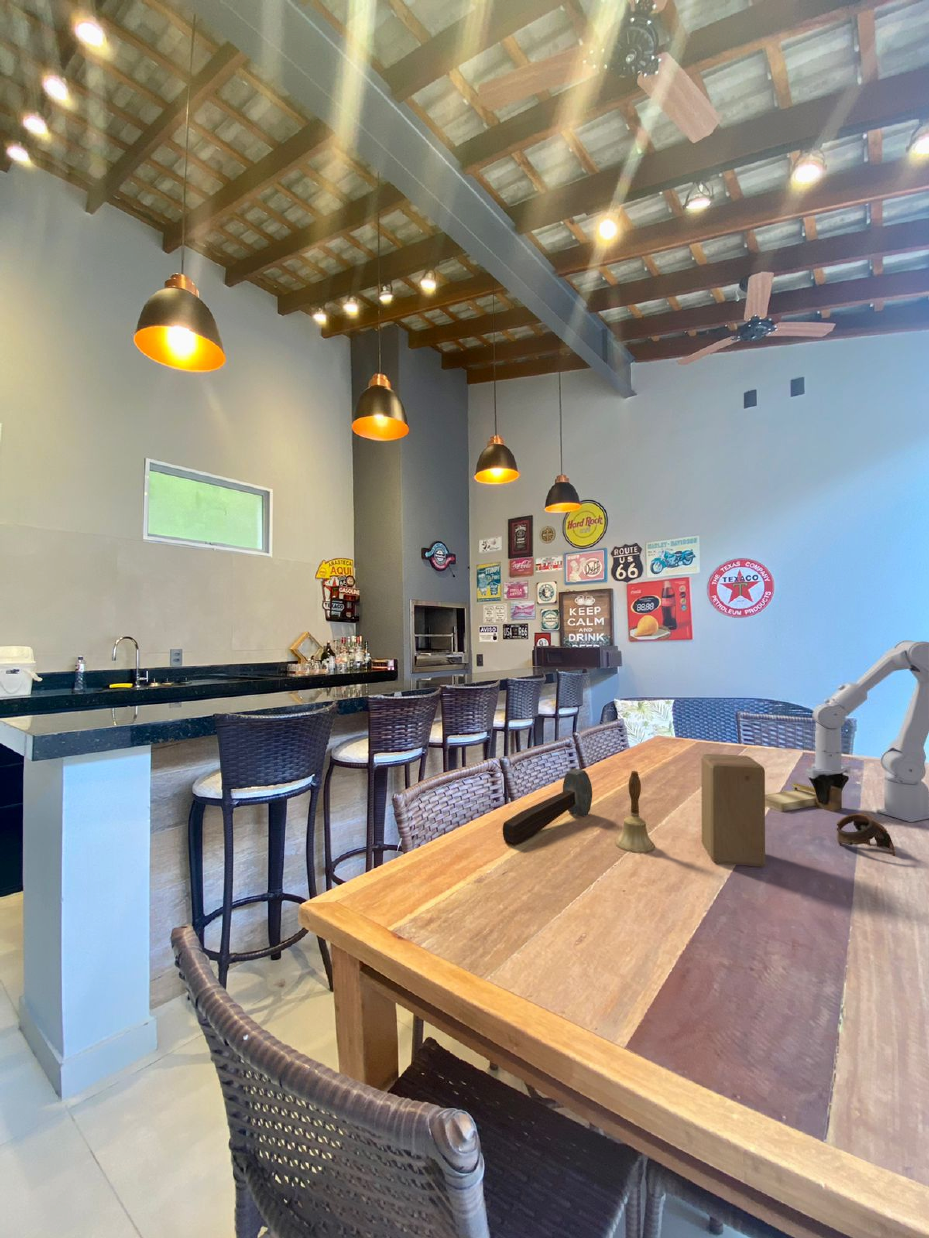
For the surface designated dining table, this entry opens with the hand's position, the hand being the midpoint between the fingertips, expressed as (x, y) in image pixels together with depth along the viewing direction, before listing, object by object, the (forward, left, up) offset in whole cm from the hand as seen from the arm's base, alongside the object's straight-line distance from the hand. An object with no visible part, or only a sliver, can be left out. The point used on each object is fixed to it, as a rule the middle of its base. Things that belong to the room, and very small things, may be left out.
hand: (828, 802), depth 140 cm
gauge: (0, -4, -1) cm, 4 cm away
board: (+6, -6, -1) cm, 8 cm away
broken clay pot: (+18, +20, -2) cm, 27 cm away
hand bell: (+63, 0, -2) cm, 63 cm away
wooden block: (+48, +12, -2) cm, 50 cm away
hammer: (+75, -15, -2) cm, 77 cm away
